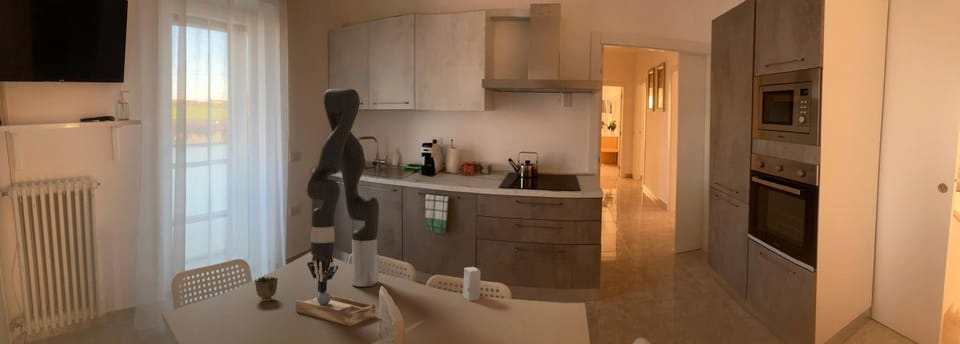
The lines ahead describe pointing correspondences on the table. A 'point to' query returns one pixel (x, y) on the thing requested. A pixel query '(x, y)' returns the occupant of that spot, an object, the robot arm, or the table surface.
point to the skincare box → (471, 283)
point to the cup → (266, 288)
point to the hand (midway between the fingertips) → (322, 292)
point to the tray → (337, 310)
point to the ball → (324, 298)
